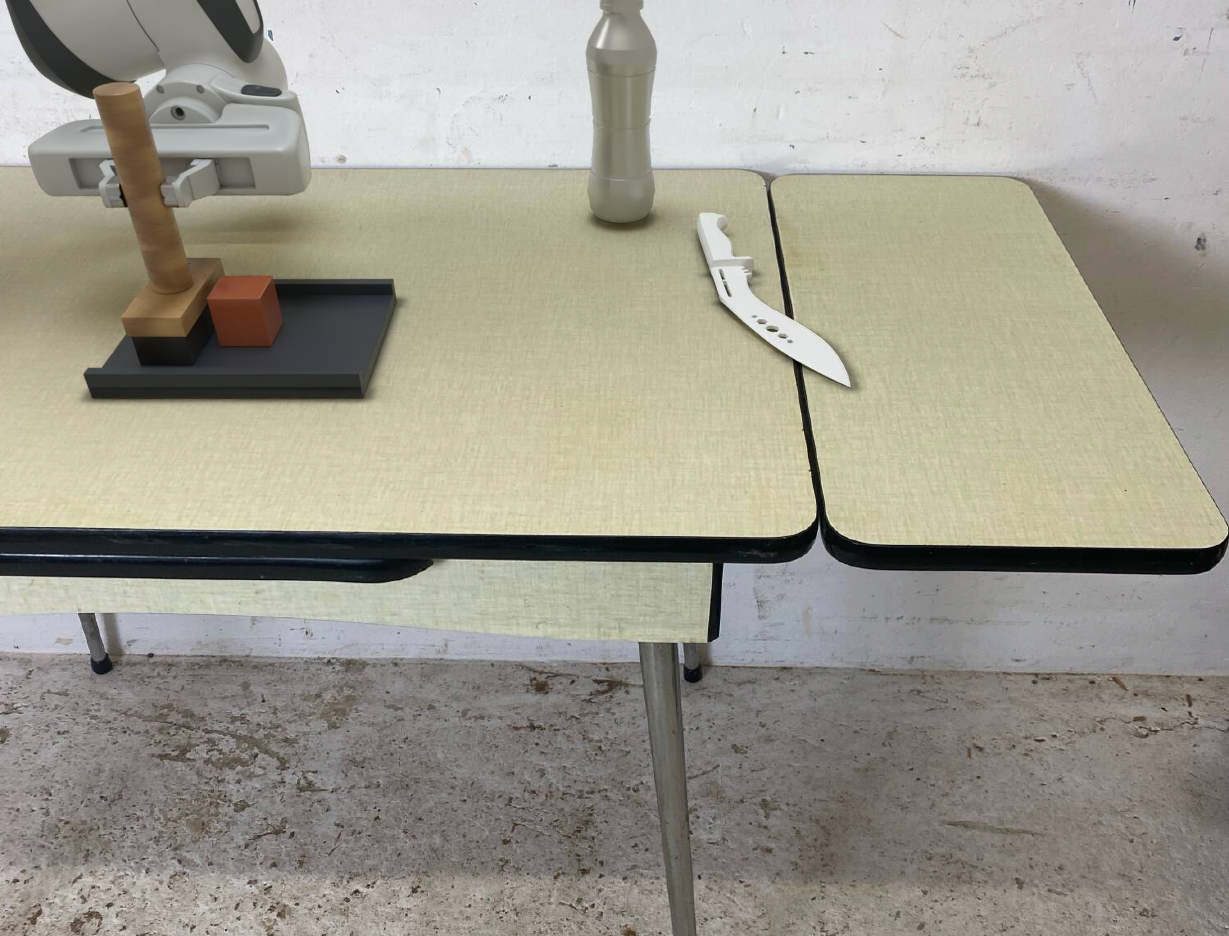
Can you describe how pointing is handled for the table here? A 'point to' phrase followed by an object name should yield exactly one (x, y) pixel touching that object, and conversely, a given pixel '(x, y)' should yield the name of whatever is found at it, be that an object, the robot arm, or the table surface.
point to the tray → (273, 350)
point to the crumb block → (245, 310)
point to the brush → (156, 240)
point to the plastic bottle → (621, 112)
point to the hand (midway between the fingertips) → (142, 197)
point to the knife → (752, 310)
